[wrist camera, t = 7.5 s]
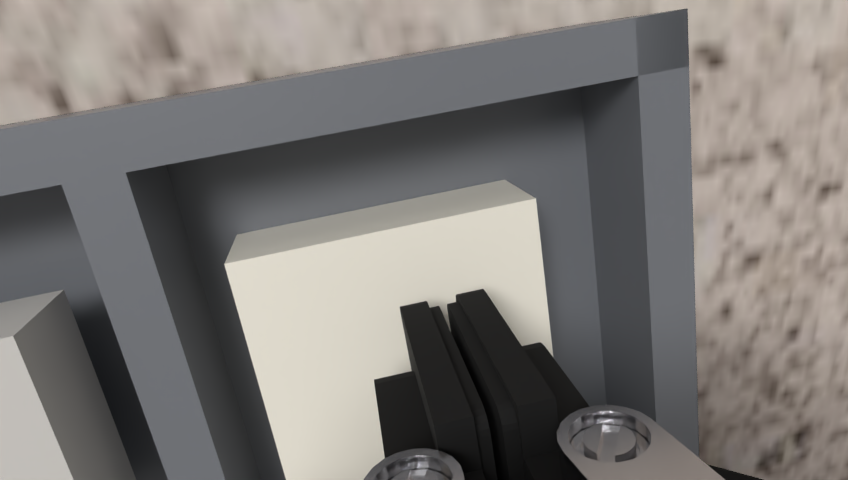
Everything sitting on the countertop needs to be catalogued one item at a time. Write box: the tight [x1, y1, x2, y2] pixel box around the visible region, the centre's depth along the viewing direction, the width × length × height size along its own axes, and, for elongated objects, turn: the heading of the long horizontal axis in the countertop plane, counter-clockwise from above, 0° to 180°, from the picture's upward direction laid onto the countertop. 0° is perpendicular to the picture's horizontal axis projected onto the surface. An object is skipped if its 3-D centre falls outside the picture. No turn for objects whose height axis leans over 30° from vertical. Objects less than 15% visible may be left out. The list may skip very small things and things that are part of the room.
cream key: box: [224, 180, 553, 480], centre depth 13 cm, size 6×6×2 cm
